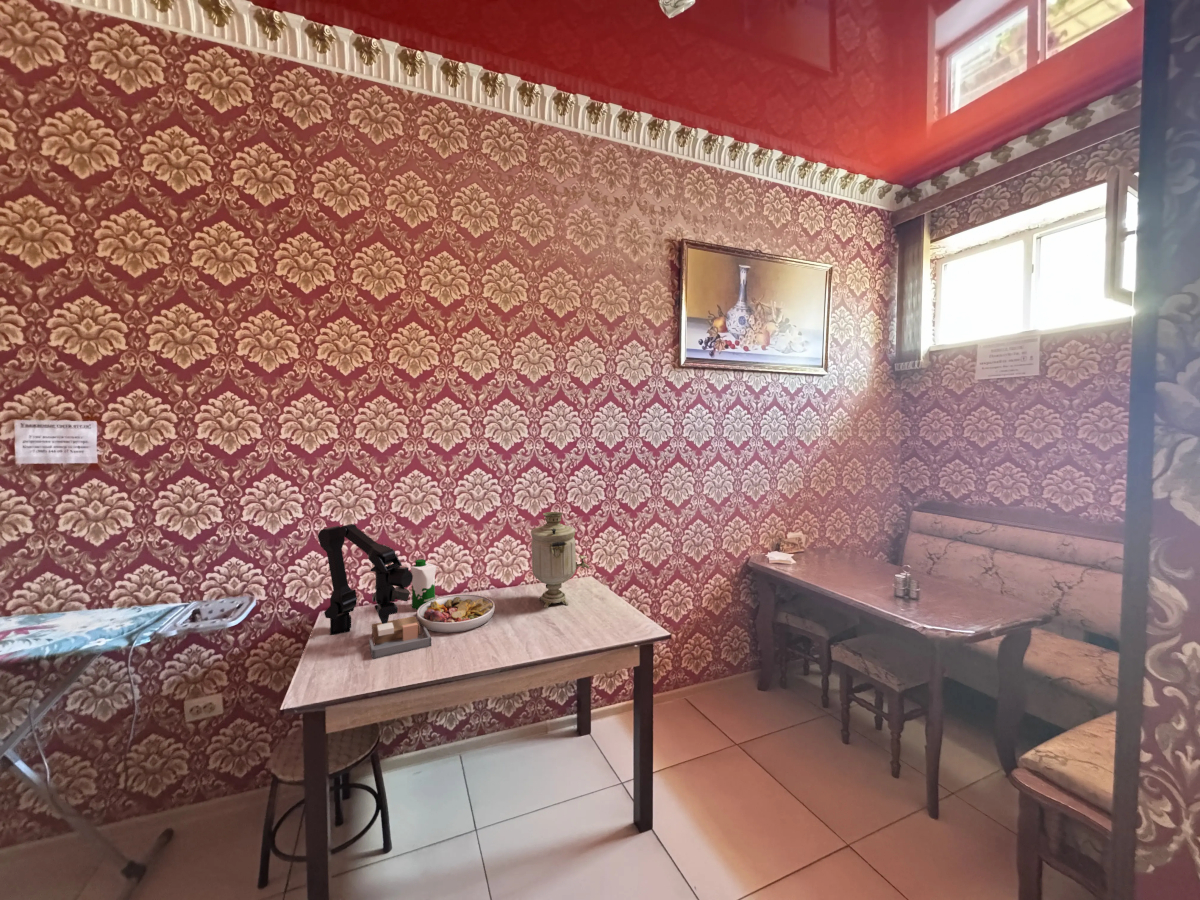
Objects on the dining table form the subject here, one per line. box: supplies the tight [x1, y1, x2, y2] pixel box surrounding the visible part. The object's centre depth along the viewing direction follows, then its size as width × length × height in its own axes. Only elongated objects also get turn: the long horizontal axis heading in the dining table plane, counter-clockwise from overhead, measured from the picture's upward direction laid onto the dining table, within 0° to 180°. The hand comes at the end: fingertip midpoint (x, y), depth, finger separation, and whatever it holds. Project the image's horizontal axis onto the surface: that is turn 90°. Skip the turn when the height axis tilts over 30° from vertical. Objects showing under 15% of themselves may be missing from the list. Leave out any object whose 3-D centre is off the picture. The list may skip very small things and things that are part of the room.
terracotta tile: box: [402, 623, 418, 641], centre depth 170 cm, size 5×5×2 cm
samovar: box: [530, 511, 591, 609], centre depth 207 cm, size 30×26×40 cm
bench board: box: [371, 615, 421, 645], centre depth 174 cm, size 15×10×4 cm, turn 122°
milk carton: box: [410, 558, 438, 611], centre depth 200 cm, size 9×9×20 cm
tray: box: [368, 627, 432, 660], centre depth 165 cm, size 19×10×3 cm, turn 122°
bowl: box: [416, 593, 496, 633], centre depth 189 cm, size 30×30×8 cm
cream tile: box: [377, 622, 394, 636], centre depth 168 cm, size 5×5×2 cm
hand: (384, 625), depth 171 cm, fingers closed
